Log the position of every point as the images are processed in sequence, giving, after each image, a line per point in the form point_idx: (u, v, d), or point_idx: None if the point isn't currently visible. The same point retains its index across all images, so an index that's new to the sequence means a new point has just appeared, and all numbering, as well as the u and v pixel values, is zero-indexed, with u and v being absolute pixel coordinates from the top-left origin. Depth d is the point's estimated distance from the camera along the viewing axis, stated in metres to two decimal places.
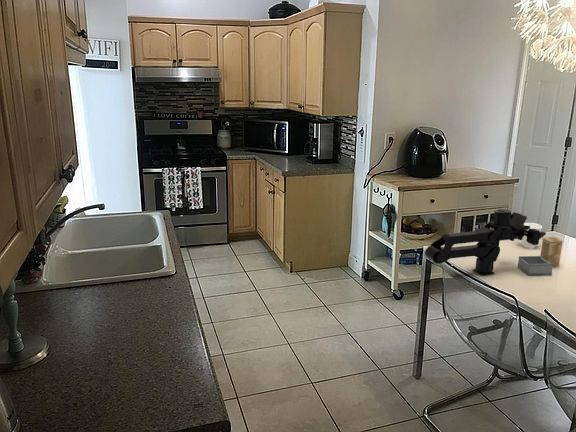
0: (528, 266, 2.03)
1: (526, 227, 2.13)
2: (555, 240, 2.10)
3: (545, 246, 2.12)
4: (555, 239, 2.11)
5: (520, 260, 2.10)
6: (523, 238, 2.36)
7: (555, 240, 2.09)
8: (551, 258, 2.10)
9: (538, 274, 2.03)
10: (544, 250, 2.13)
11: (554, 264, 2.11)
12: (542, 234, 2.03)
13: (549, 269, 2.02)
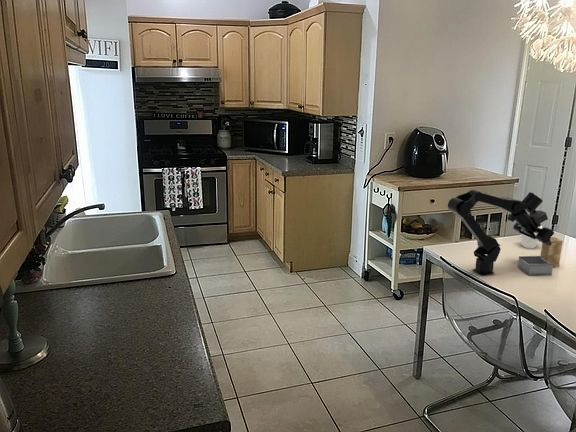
0: (528, 266, 2.03)
1: (533, 235, 2.14)
2: (555, 240, 2.10)
3: (545, 246, 2.12)
4: (555, 239, 2.11)
5: (520, 260, 2.10)
6: (523, 238, 2.36)
7: (555, 240, 2.09)
8: (551, 258, 2.10)
9: (538, 274, 2.03)
10: (544, 250, 2.13)
11: (554, 264, 2.11)
12: (549, 242, 2.04)
13: (549, 269, 2.02)
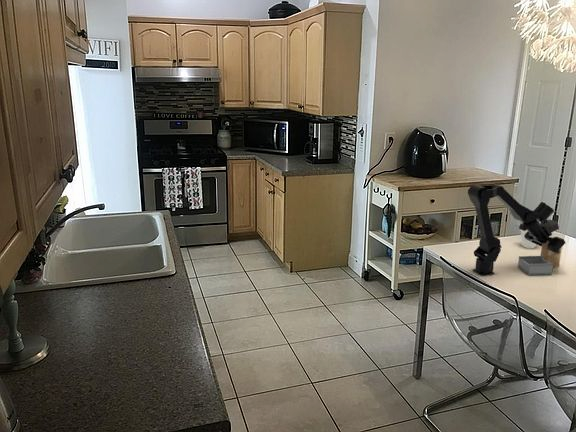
0: (528, 266, 2.03)
1: None
2: None
3: (544, 246, 2.12)
4: None
5: (520, 260, 2.10)
6: (523, 238, 2.36)
7: None
8: (551, 258, 2.10)
9: (538, 274, 2.03)
10: (543, 250, 2.13)
11: (554, 264, 2.11)
12: (557, 250, 2.08)
13: (549, 269, 2.02)
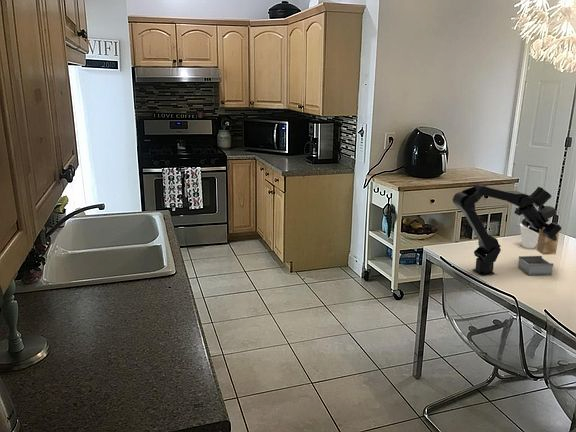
0: (528, 266, 2.03)
1: None
2: None
3: (541, 233, 2.08)
4: None
5: (520, 260, 2.10)
6: (523, 238, 2.36)
7: None
8: (548, 245, 2.06)
9: (538, 274, 2.03)
10: (540, 237, 2.09)
11: (551, 251, 2.07)
12: (554, 237, 2.04)
13: (549, 269, 2.02)
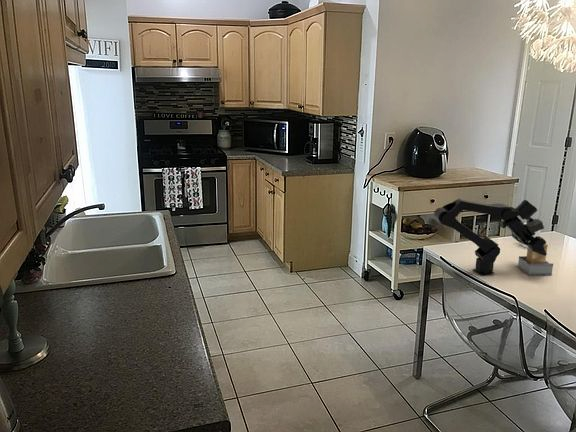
0: (528, 266, 2.03)
1: None
2: None
3: (529, 249, 2.06)
4: None
5: (520, 260, 2.10)
6: None
7: None
8: (535, 261, 2.04)
9: (538, 274, 2.03)
10: (528, 254, 2.07)
11: None
12: (543, 252, 1.99)
13: (549, 269, 2.02)
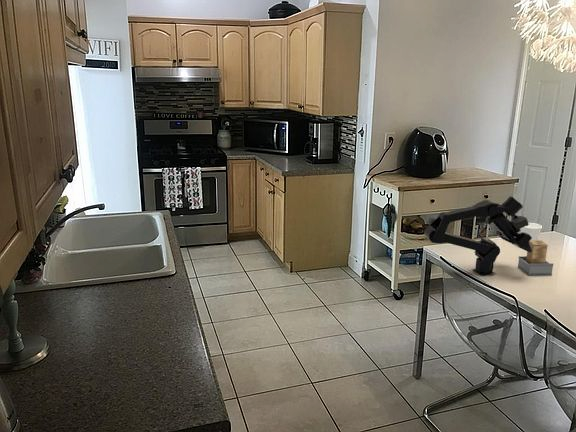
0: (528, 266, 2.03)
1: None
2: (540, 243, 2.03)
3: None
4: (541, 242, 2.04)
5: (520, 260, 2.10)
6: None
7: (539, 243, 2.02)
8: (535, 261, 2.04)
9: (538, 274, 2.03)
10: (528, 254, 2.07)
11: None
12: (528, 248, 1.99)
13: (549, 269, 2.02)
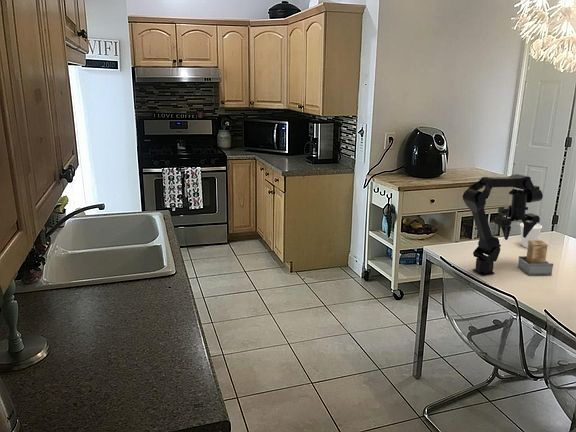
0: (528, 266, 2.03)
1: None
2: (540, 243, 2.03)
3: (529, 249, 2.06)
4: (541, 242, 2.04)
5: (520, 260, 2.10)
6: (523, 238, 2.36)
7: (539, 243, 2.02)
8: (535, 261, 2.04)
9: (538, 274, 2.03)
10: (528, 254, 2.07)
11: None
12: None
13: (549, 269, 2.02)
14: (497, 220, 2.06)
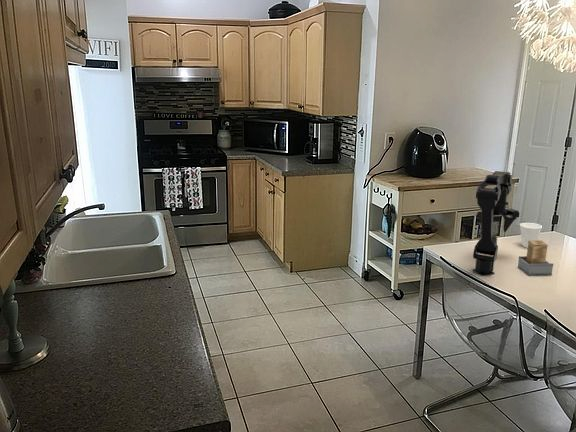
0: (528, 266, 2.03)
1: None
2: (540, 243, 2.03)
3: (529, 249, 2.06)
4: (541, 242, 2.04)
5: (520, 260, 2.10)
6: (523, 238, 2.36)
7: (539, 243, 2.02)
8: (535, 261, 2.04)
9: (538, 274, 2.03)
10: (528, 254, 2.07)
11: None
12: None
13: (549, 269, 2.02)
14: (478, 214, 2.14)
